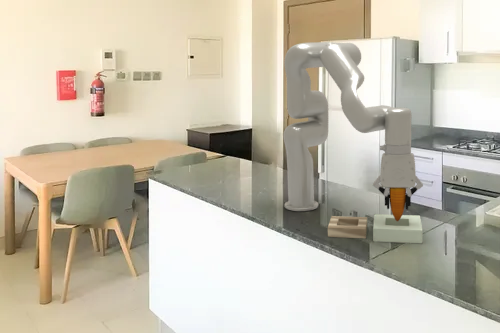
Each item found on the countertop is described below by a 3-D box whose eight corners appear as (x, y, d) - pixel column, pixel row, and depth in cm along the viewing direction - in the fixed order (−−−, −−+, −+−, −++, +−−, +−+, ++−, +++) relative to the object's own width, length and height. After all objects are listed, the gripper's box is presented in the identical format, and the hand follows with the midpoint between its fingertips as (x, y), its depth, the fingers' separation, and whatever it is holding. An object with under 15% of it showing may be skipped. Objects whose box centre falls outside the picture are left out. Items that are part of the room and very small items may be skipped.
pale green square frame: (374, 226, 167) (374, 214, 166) (419, 227, 163) (419, 215, 162) (373, 241, 154) (373, 228, 153) (422, 243, 150) (422, 230, 149)
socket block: (331, 224, 170) (331, 216, 170) (367, 226, 167) (367, 217, 167) (327, 236, 159) (327, 227, 159) (365, 238, 156) (365, 229, 156)
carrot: (385, 220, 159) (385, 173, 156) (399, 217, 161) (399, 171, 157) (395, 224, 154) (395, 176, 151) (409, 222, 156) (409, 174, 153)
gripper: (368, 151, 152) (368, 211, 155) (428, 151, 147) (427, 212, 151) (369, 147, 159) (369, 203, 162) (427, 147, 154) (425, 205, 158)
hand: (397, 207), depth 157 cm, fingers closed on carrot, 4 cm apart
